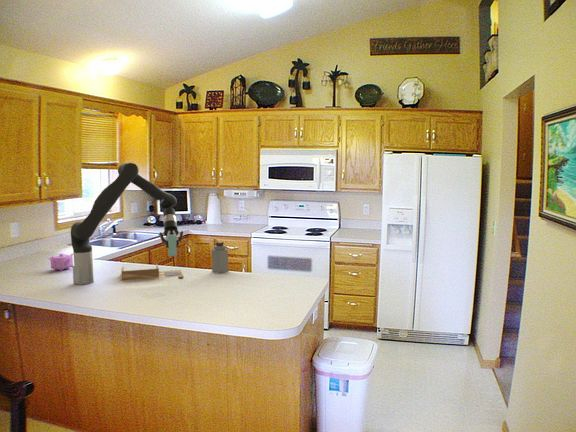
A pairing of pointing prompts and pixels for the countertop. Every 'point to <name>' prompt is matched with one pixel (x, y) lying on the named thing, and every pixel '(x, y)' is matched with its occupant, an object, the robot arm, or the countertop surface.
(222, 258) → the perfume bottle
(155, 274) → the stand
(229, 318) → the countertop surface
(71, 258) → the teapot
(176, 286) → the countertop surface
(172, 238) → the block
